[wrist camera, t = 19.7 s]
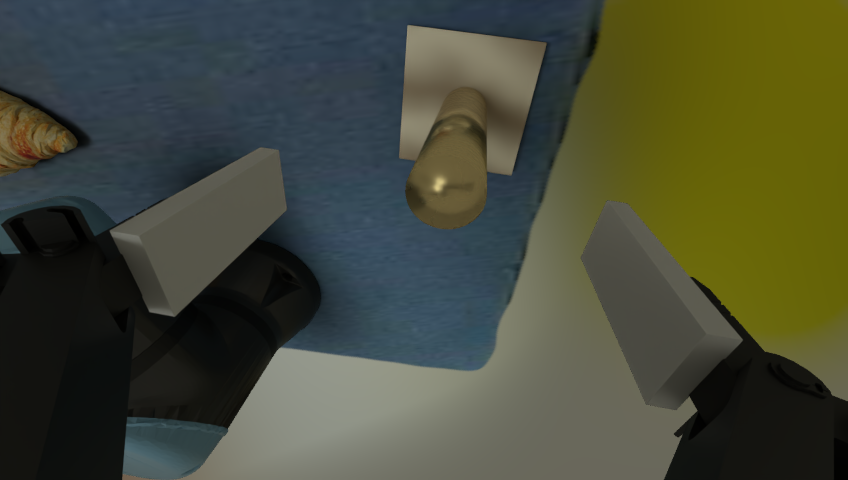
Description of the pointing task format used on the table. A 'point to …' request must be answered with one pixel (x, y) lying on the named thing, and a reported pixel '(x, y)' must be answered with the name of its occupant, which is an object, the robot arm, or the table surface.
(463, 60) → the birch pad
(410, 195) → the brass capsule
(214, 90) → the table surface
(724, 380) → the robot arm
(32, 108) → the croissant
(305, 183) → the table surface
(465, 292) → the table surface
